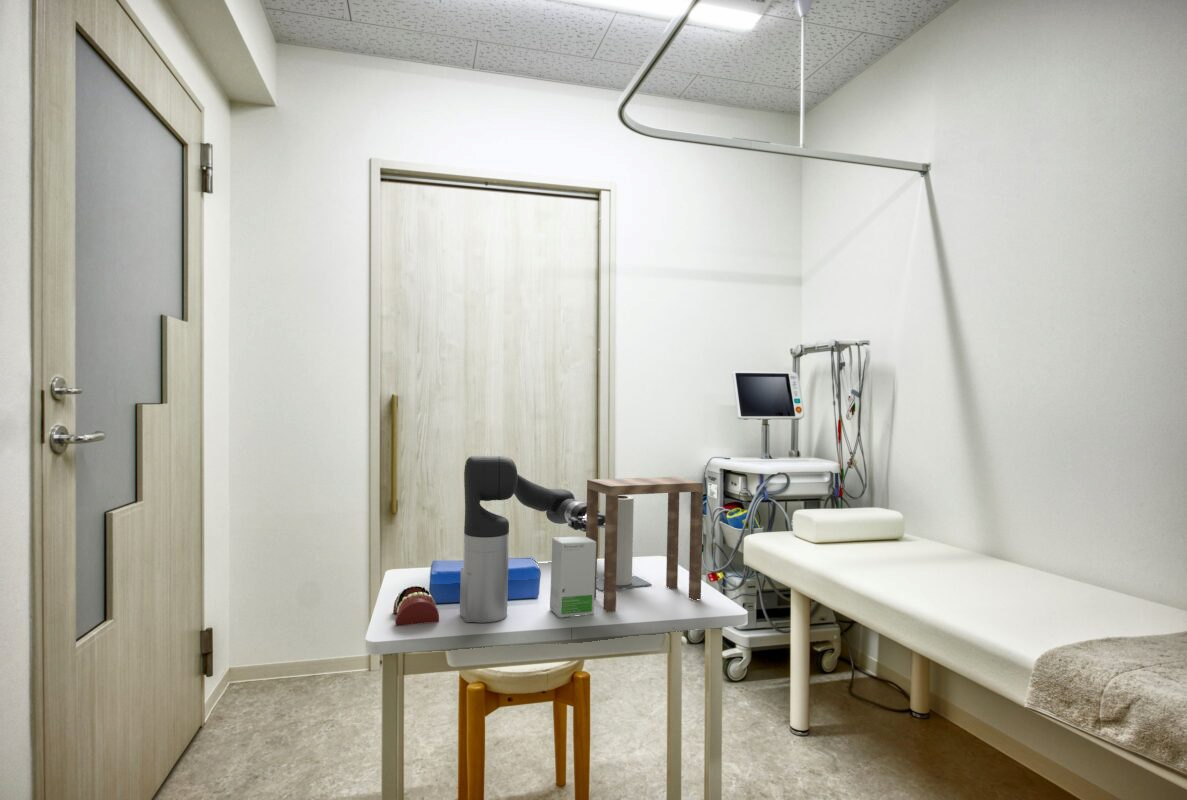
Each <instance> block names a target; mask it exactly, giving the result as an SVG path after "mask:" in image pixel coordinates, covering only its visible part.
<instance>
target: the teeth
mask: <svg viewBox="0 0 1187 800" xmlns="http://www.w3.org/2000/svg"><path fill="white" fill-rule="evenodd" d="M392 610H393V613H394V614H393V615H395V613H396V616H395V620H394V621H395V627H401V626H410V625H420V624H428V623H429V624H430V623H438V622H440V615H439V614H440V613H439V610H438V608H437V605H436V601H435V599H434V598H433V596H432V594H431V593H430V591H429V590H428V589H426V588H425V586H423V587H422V586H417V585H414V586H413V585H411V586H408V587H405V588H403V589H402V591H400V592H399V593H398V595H397V597H396V598H395V601H394V603H393V609H392Z"/></svg>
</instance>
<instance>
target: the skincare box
mask: <svg viewBox="0 0 1187 800" xmlns="http://www.w3.org/2000/svg"><path fill="white" fill-rule="evenodd" d="M551 540H552V541H551V544H552V545H551V546H552V547H551V569H550V570H551V571H550V597H549V609H550V611H551V612H552V613H553V614H555V616H557V617H558V618H569V617H568V616H571V617H576V616H575V615H582V616H586V615H585V614H593V615H594V614H595V598H594V591H595V560H596V541H594V540H591V539H589V538H587V537H586V536H565V537H564V536H563V537H562V536H560V537H559V536H558V537H556V536H555V537H552V538H551Z"/></svg>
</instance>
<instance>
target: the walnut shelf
mask: <svg viewBox="0 0 1187 800" xmlns="http://www.w3.org/2000/svg"><path fill="white" fill-rule="evenodd" d="M599 493H601V494H604V495H605V509H604V511H605V524H604V525H605V528H604V556H603V557H604V559H603V561H604V565H603V566H604V567H603V569H604V570H603V579H604V591H603V606H602V607H603V608H602V609H603V611H605V610H606V611H605V612H607V613H609V612H610V613H611V611H612V612H616V609H617V608H616V607H617V590H616V573H617V527H618V496H631V495H652V494H653V495H654V494H655V495H656V494H667V527H666V528H667V529H666V530H667V534H666V535H667V536H666V573H665V574H666V578H665V579H666V580H665V581H666V583H665V587H666V586H667V587H666V588H668V587H669V588H668V589H670V588H673V589H677V588H678V584H679V583H678V580H679V579H678V578H679V577H678V576H679V535H680V534H679V532H680V530H679V529H680V527H679V525H680V493H690V512H689V513H690V514H689V517H690V518H689V520H690V521H689V527H690V528H689V560H688V561H689V562H688V563H689V564H688V565H689V568H688V570H689V571H688V599H689V598H691V599H693V600H696V601H698V600H697V599H702V566H703V565H702V563H703V561H702V560H703V558H702V556H703V554H702V553H703V515H704V514H703V513H704V512H703V510H704V509H703V507H704V482H703V481H702V482H701V481H698V480H697V481H696V480H692V479H687V478H683V477H679V476H661V477H659V476H657V477H634V478H632V477H630V478H629V477H627V478H625V477H624V478H604V479H603V478H597V479H595V478H594V479H586V503H587V511H586V532H585V537H587V538H589V539H591V540H594V541H596V560H595V591H594V597H596V598H597V589H596V580H598V579H597V578H598V577H597V573H598V572H597V571H598V570H597V569H598V567H597V566H598V565H597V564H598V529H599V528H598V511H599ZM676 587H677V588H676ZM691 599H690V600H691ZM693 600H692V601H693Z"/></svg>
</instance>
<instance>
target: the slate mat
mask: <svg viewBox="0 0 1187 800" xmlns="http://www.w3.org/2000/svg"><path fill="white" fill-rule="evenodd" d="M650 585H651V586H652V583H651V582H649V581H647V580H645V579H643V578H641V577H639V576H637V575H632V583H631V584H629V585H621V586H620V585H616V591H617V589H618V590H626V588H627V589H632V588H633V589H635V588H644V587H650ZM643 586H644V587H643ZM634 587H635V588H634ZM597 589H598V590H597ZM596 590H597V591H599V592H600V591H601V592H604V578H603V579H596Z"/></svg>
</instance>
